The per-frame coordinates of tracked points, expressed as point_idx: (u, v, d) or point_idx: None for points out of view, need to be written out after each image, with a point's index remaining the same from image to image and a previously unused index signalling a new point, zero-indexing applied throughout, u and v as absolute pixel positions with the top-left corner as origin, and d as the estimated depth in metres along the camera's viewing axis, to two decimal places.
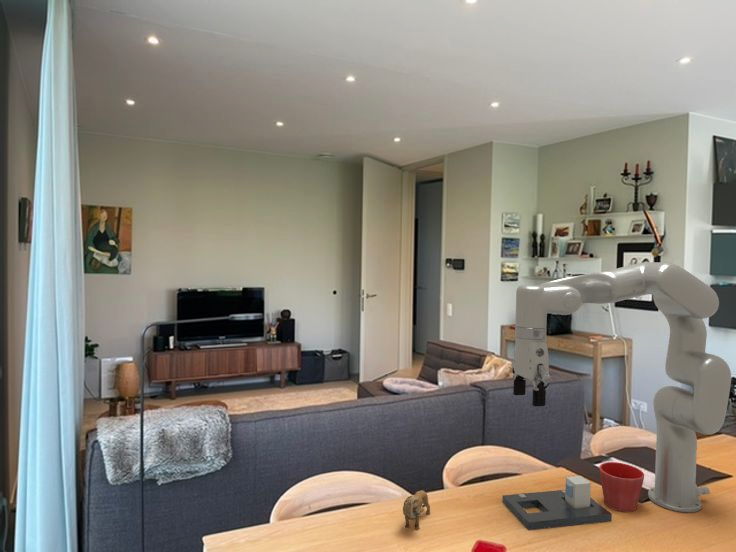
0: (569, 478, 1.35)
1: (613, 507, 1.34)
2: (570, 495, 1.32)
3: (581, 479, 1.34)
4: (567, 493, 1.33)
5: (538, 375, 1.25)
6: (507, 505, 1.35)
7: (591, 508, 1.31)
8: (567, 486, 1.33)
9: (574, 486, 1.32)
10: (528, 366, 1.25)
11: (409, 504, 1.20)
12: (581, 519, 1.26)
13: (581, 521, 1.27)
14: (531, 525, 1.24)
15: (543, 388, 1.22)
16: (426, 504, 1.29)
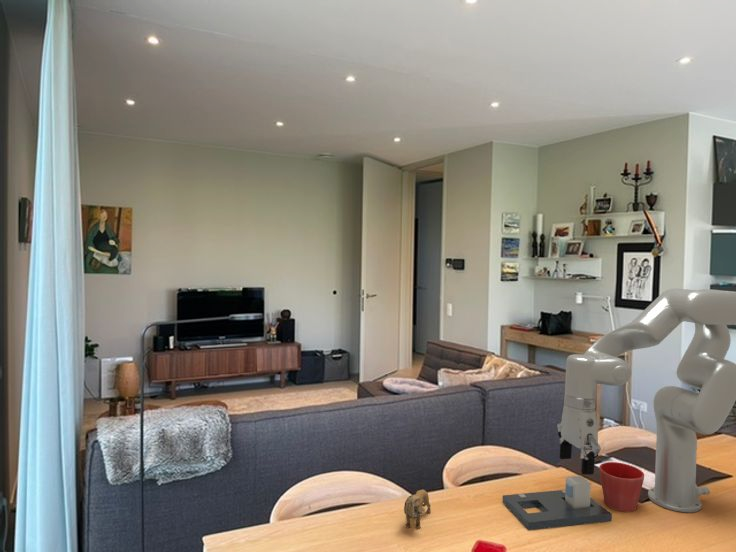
0: (569, 478, 1.35)
1: (613, 507, 1.34)
2: (570, 495, 1.32)
3: (581, 479, 1.34)
4: (567, 493, 1.33)
5: (587, 443, 1.30)
6: (507, 505, 1.35)
7: (591, 508, 1.31)
8: (567, 486, 1.33)
9: (574, 486, 1.32)
10: (578, 435, 1.29)
11: (410, 503, 1.21)
12: (581, 519, 1.26)
13: (581, 521, 1.27)
14: (531, 525, 1.24)
15: (593, 458, 1.27)
16: (427, 503, 1.29)
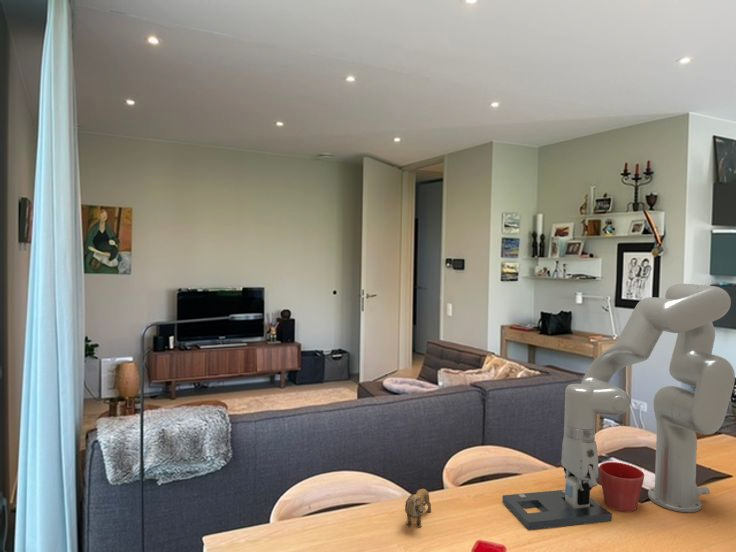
0: (569, 478, 1.35)
1: (613, 507, 1.34)
2: (570, 495, 1.32)
3: None
4: (567, 493, 1.33)
5: None
6: (507, 505, 1.35)
7: (591, 508, 1.31)
8: (567, 486, 1.33)
9: (574, 486, 1.32)
10: (578, 465, 1.30)
11: (411, 502, 1.21)
12: (581, 519, 1.26)
13: (581, 521, 1.27)
14: (531, 525, 1.24)
15: (588, 489, 1.30)
16: (427, 502, 1.30)
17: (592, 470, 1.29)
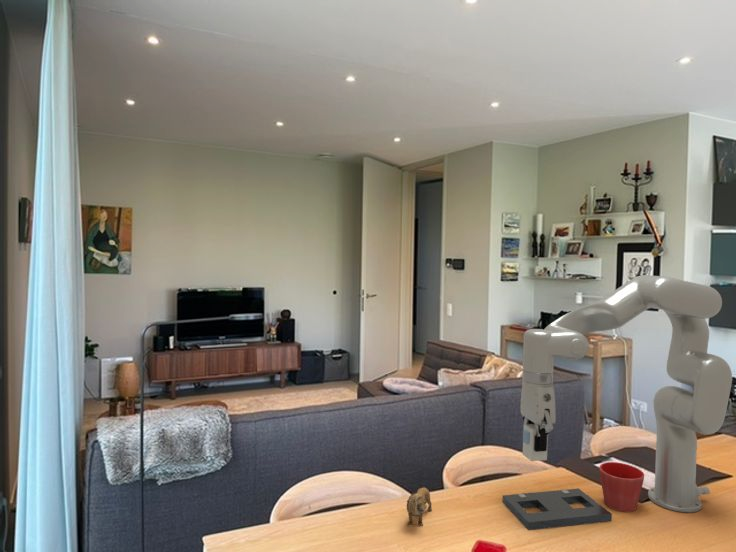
0: (527, 425, 1.32)
1: (613, 507, 1.34)
2: (527, 441, 1.29)
3: None
4: (524, 440, 1.30)
5: None
6: (507, 505, 1.35)
7: (591, 508, 1.31)
8: (524, 433, 1.30)
9: (531, 432, 1.29)
10: (535, 410, 1.27)
11: (413, 501, 1.22)
12: (581, 519, 1.26)
13: (581, 521, 1.27)
14: (531, 525, 1.24)
15: (544, 434, 1.26)
16: (428, 501, 1.31)
17: (549, 415, 1.25)
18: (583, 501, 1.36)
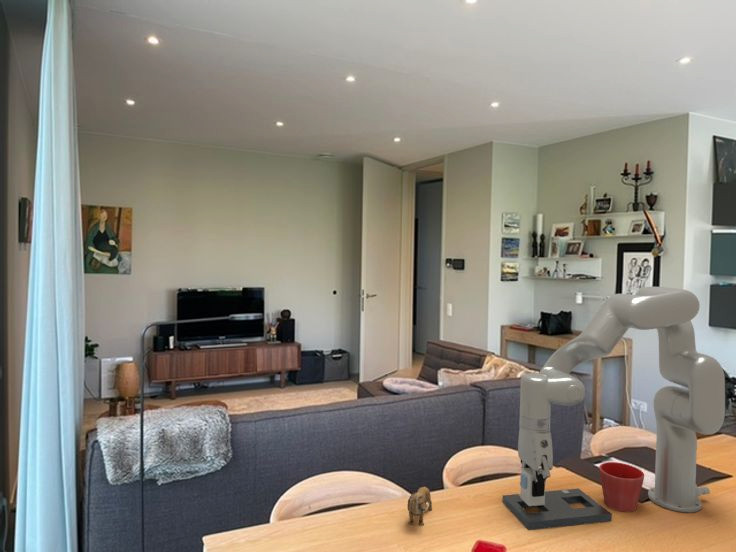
0: (524, 469, 1.32)
1: (613, 507, 1.34)
2: (524, 486, 1.30)
3: None
4: (522, 484, 1.31)
5: None
6: (507, 505, 1.35)
7: (591, 508, 1.31)
8: (522, 477, 1.31)
9: (528, 477, 1.29)
10: (532, 456, 1.27)
11: (414, 500, 1.22)
12: (581, 519, 1.26)
13: (581, 521, 1.27)
14: (531, 525, 1.24)
15: (542, 480, 1.27)
16: (429, 500, 1.31)
17: (546, 461, 1.26)
18: (583, 501, 1.36)
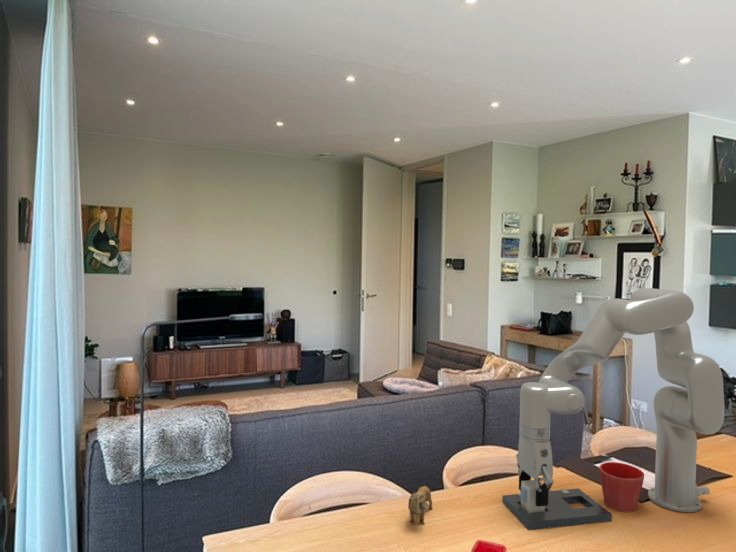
0: (524, 482, 1.32)
1: (613, 507, 1.34)
2: (524, 499, 1.30)
3: None
4: (522, 497, 1.31)
5: (542, 474, 1.28)
6: (507, 505, 1.35)
7: (591, 508, 1.31)
8: (522, 490, 1.31)
9: (528, 490, 1.29)
10: (532, 466, 1.27)
11: (415, 500, 1.23)
12: (581, 519, 1.26)
13: (581, 521, 1.27)
14: (531, 525, 1.24)
15: (546, 490, 1.25)
16: (429, 499, 1.32)
17: None
18: (583, 501, 1.36)
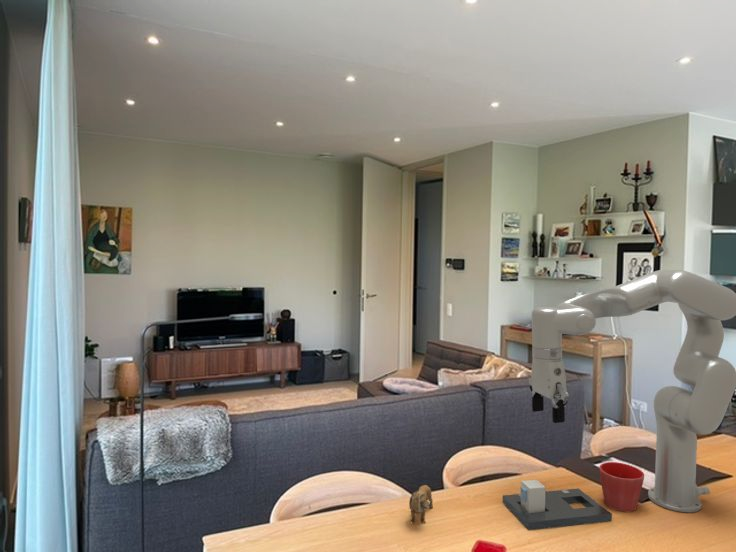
0: (524, 482, 1.32)
1: (613, 507, 1.34)
2: (524, 499, 1.30)
3: (536, 483, 1.32)
4: (522, 497, 1.31)
5: (556, 393, 1.32)
6: (507, 505, 1.35)
7: (591, 508, 1.31)
8: (522, 490, 1.31)
9: (528, 490, 1.29)
10: (547, 385, 1.31)
11: (416, 498, 1.23)
12: (581, 519, 1.26)
13: (581, 521, 1.27)
14: (531, 525, 1.24)
15: (562, 405, 1.29)
16: (430, 498, 1.32)
17: None
18: (583, 501, 1.36)
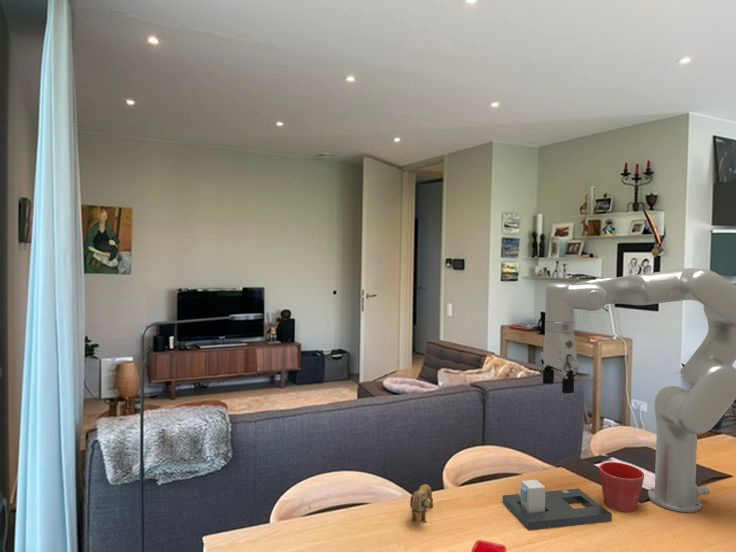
0: (524, 482, 1.32)
1: (613, 507, 1.34)
2: (524, 499, 1.30)
3: (536, 483, 1.32)
4: (522, 497, 1.31)
5: (567, 365, 1.38)
6: (507, 505, 1.35)
7: (591, 508, 1.31)
8: (522, 490, 1.31)
9: (528, 490, 1.29)
10: (558, 357, 1.37)
11: (417, 498, 1.24)
12: (581, 519, 1.26)
13: (581, 521, 1.27)
14: (531, 525, 1.24)
15: (572, 376, 1.35)
16: (430, 497, 1.33)
17: None
18: (583, 501, 1.36)
